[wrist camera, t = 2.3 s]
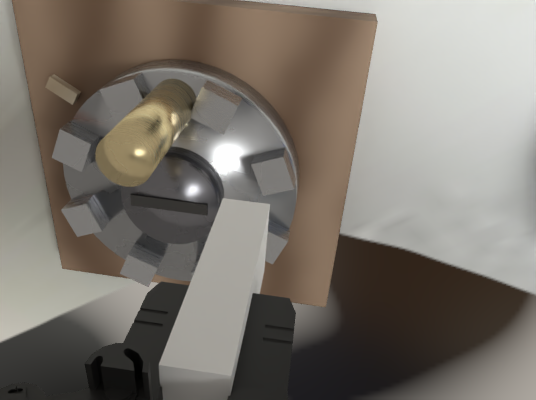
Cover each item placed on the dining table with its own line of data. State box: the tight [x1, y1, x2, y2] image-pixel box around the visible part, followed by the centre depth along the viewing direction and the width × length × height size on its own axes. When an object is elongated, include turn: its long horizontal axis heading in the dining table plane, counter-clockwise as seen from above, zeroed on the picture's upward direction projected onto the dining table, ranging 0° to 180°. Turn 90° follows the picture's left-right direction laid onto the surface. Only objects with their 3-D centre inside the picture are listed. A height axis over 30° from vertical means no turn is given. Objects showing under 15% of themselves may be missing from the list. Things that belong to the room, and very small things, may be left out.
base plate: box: [12, 0, 377, 307], centre depth 32 cm, size 20×20×2 cm
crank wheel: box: [52, 60, 299, 286], centre depth 27 cm, size 14×14×10 cm
